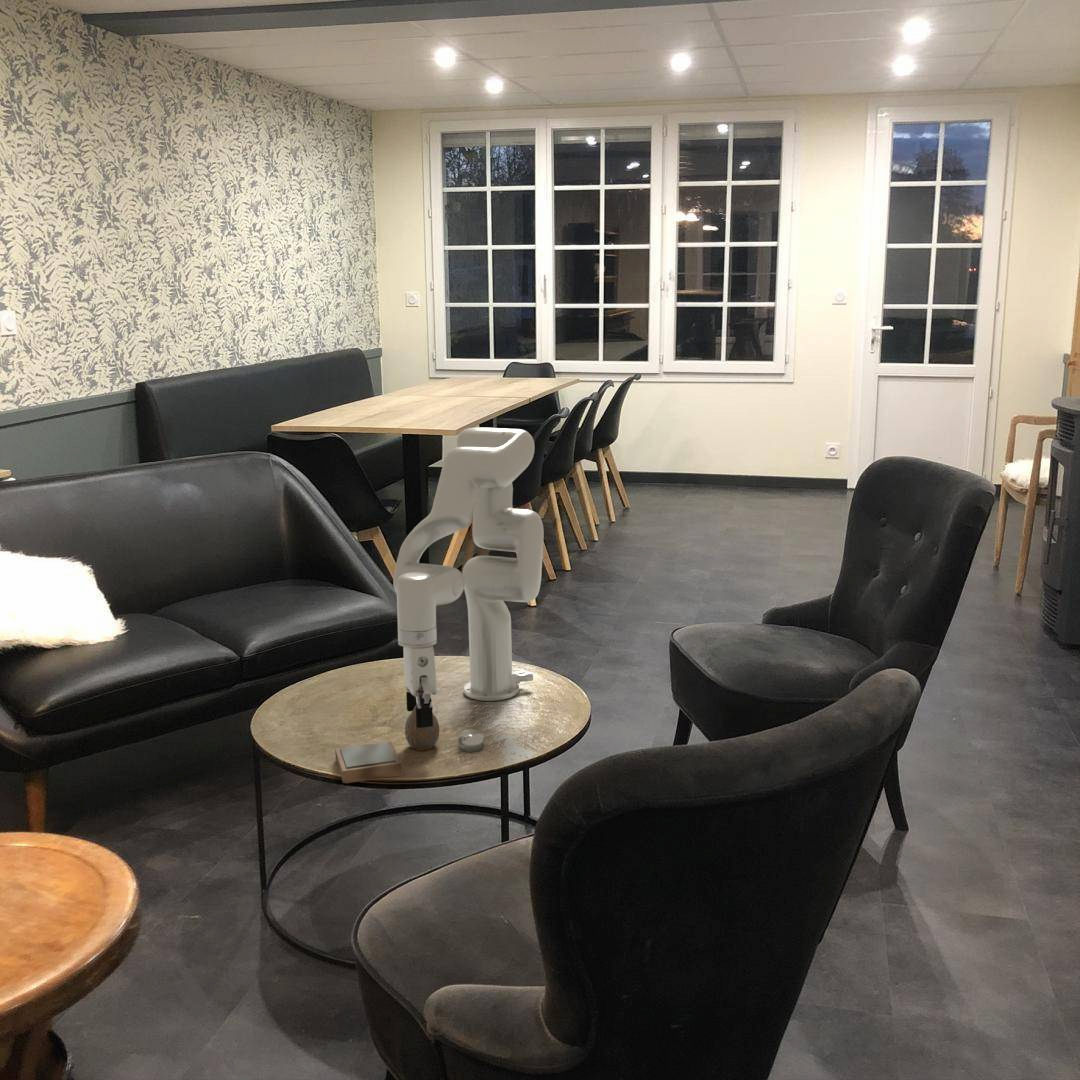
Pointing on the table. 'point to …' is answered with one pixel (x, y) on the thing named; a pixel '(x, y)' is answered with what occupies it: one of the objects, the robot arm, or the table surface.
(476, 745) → the tin
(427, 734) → the vase
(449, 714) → the table surface
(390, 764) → the plinth
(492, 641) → the robot arm
